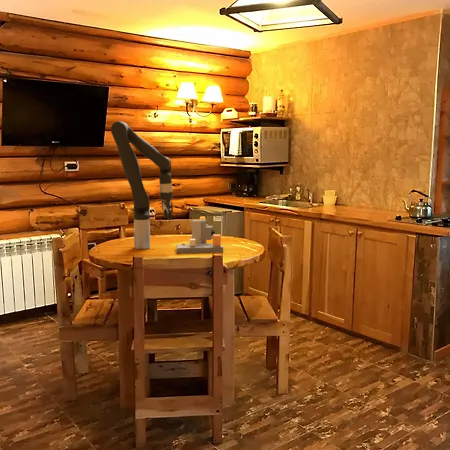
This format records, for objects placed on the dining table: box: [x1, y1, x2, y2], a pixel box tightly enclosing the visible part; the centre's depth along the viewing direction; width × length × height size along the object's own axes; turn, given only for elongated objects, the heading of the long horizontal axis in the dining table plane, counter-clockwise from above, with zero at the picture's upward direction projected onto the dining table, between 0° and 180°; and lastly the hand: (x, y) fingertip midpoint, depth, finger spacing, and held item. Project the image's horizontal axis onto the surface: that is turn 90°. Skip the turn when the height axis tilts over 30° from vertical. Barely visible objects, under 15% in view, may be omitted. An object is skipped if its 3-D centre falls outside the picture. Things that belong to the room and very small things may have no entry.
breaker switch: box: [189, 238, 195, 246], centre depth 294 cm, size 3×4×4 cm
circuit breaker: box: [189, 219, 216, 244], centre depth 314 cm, size 8×14×15 cm, turn 78°
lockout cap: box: [212, 234, 222, 246], centre depth 295 cm, size 4×4×6 cm
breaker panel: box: [176, 242, 224, 254], centre depth 294 cm, size 26×12×4 cm, turn 97°
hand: (168, 218), depth 301 cm, fingers open, 8 cm apart
